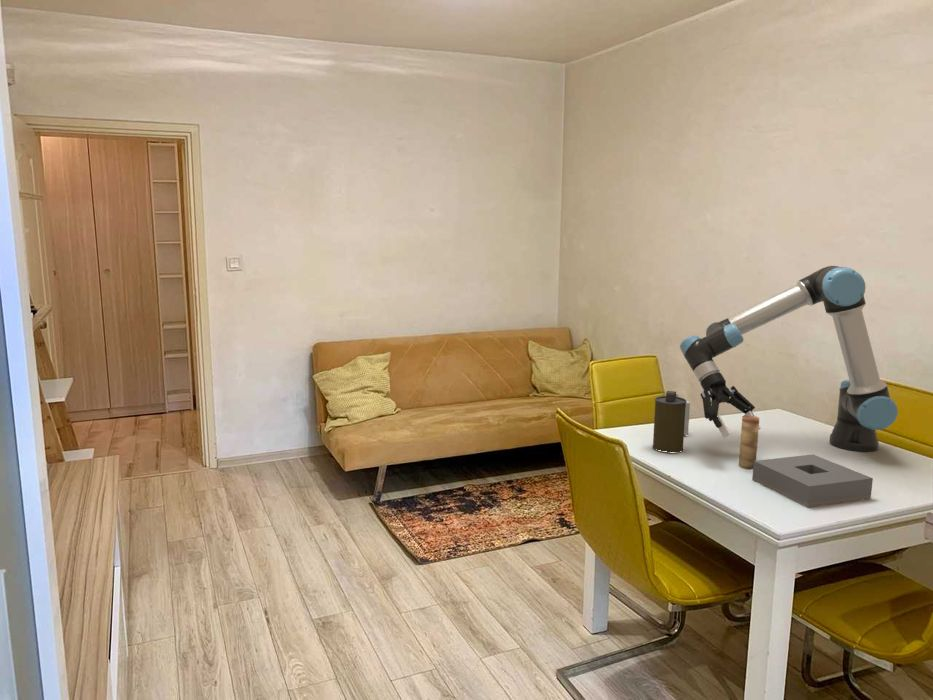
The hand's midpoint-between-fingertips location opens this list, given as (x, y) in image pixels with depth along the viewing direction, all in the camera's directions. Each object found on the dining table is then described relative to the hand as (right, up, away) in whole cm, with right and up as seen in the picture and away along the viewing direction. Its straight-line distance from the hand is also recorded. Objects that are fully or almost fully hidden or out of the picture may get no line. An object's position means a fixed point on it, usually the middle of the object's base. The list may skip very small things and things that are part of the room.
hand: (742, 433), depth 225 cm
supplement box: (-11, -5, +36) cm, 38 cm away
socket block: (+12, -14, -19) cm, 27 cm away
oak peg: (+2, -11, 0) cm, 11 cm away
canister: (-19, -8, +18) cm, 27 cm away
